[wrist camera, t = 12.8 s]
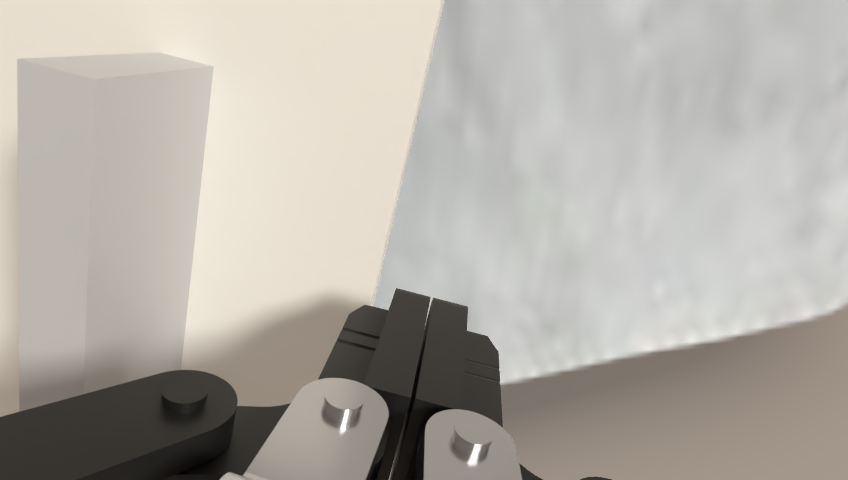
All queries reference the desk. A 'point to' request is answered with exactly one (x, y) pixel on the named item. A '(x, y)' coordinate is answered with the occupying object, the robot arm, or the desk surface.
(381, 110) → the lid
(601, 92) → the desk surface
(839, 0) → the desk surface
